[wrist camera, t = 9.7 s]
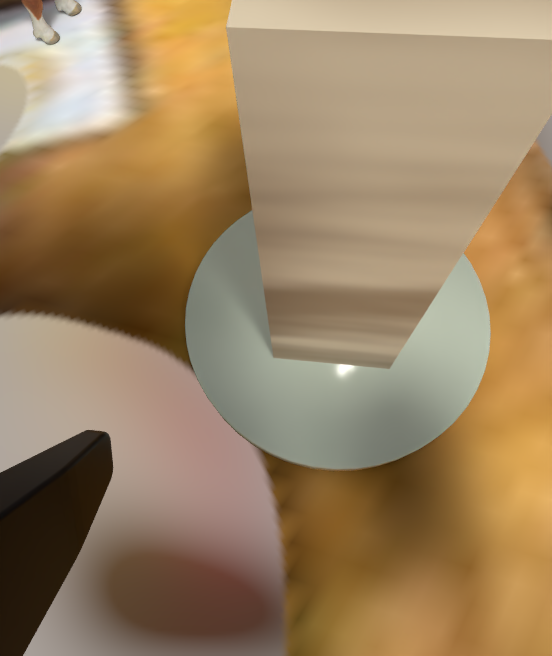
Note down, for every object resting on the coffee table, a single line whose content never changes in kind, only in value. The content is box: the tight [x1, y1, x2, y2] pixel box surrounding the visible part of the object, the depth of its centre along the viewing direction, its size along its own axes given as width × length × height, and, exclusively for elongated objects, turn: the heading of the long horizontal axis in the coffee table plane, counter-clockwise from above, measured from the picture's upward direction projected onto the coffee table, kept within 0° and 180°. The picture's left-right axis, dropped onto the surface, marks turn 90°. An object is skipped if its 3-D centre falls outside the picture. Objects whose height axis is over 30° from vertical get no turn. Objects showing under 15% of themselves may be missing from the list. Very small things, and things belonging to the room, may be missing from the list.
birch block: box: [226, 0, 552, 369], centre depth 12 cm, size 4×4×13 cm
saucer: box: [185, 211, 491, 471], centre depth 19 cm, size 12×12×1 cm
